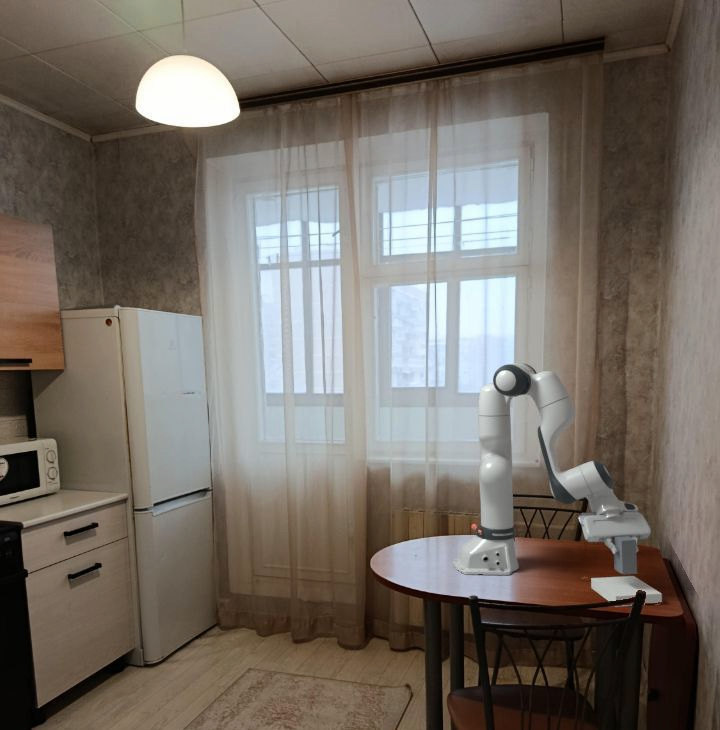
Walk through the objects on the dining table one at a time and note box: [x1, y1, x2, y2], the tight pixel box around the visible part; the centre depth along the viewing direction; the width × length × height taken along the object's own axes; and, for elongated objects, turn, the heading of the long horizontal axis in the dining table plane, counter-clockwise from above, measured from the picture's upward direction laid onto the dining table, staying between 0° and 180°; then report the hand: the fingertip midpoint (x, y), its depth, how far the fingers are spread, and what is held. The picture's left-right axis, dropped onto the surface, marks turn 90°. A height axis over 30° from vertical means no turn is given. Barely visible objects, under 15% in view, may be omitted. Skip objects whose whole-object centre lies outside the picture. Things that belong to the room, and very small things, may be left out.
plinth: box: [590, 575, 663, 608], centre depth 167 cm, size 14×14×3 cm
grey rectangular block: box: [612, 536, 638, 576], centre depth 167 cm, size 4×4×10 cm
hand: (626, 552), depth 167 cm, fingers closed on grey rectangular block, 4 cm apart
